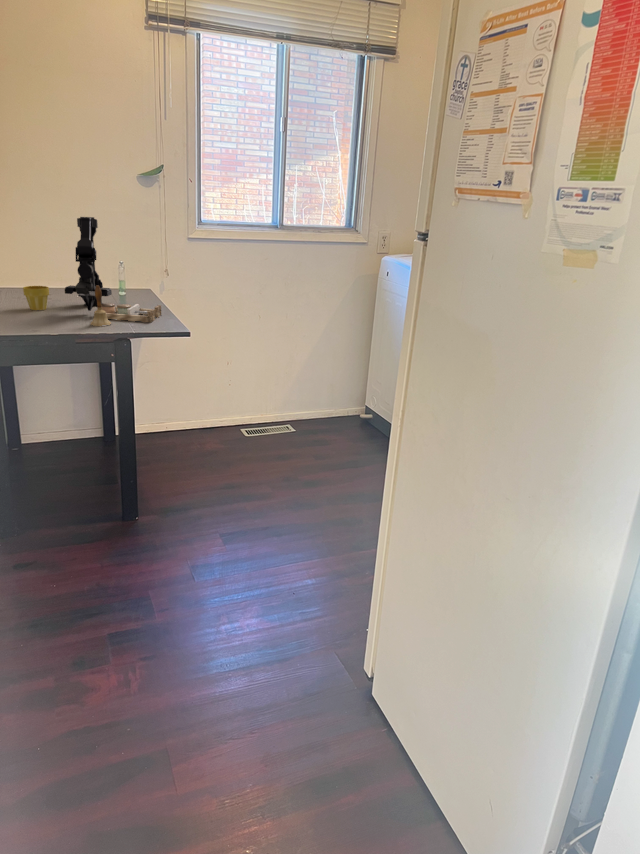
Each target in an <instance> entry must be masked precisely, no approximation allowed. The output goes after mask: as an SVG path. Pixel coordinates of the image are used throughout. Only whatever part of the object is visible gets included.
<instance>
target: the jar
mask: <svg viewBox="0 0 640 854" xmlns="http://www.w3.org/2000/svg"><path fill="white" fill-rule="evenodd" d="M115 304H116V303H111V302H102V304H101V306H102V310H103V311H105V312H106V313H112V314H116V312H115V307H116V305H115Z"/></svg>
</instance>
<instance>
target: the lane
mask: <svg viewBox="0 0 640 854" xmlns="http://www.w3.org/2000/svg"><path fill="white" fill-rule="evenodd" d="M139 308H140V307H139ZM140 311H148V312H147V314H143V313H140V314H139V315H126V314H117V313H116V312H117V306H115V314H112V313H106V316H107V319H117V320H116V321H121V320H128V321H127V322H135V321H142V322H141V323H150V322H151V323H152V322H154V321H155V320H156V318H155V317H158V318H160V317H161V316H162V305H161V304H157V306H154V308H153V309H152V308H140ZM141 314H143V315H141ZM159 316H160V317H159Z"/></svg>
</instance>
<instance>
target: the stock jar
mask: <svg viewBox="0 0 640 854" xmlns="http://www.w3.org/2000/svg"><path fill="white" fill-rule="evenodd" d="M116 307H117V313H116V314H126V315H128V313H127V309H129V308H130V307H132V304H126V303H124V304H123V303H120V304H116Z"/></svg>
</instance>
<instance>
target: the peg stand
mask: <svg viewBox="0 0 640 854" xmlns="http://www.w3.org/2000/svg"><path fill="white" fill-rule="evenodd" d="M131 306H132V305H131ZM147 312H148V311H140V304H139V303H136V304H133V306H132V307H130V308H129V309H127V313H128V315H141V314H140V313H143V314H147Z"/></svg>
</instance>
